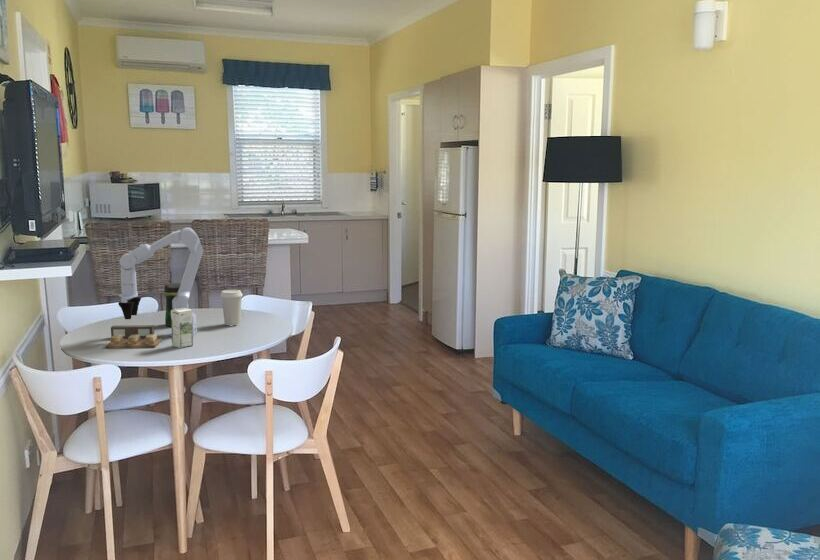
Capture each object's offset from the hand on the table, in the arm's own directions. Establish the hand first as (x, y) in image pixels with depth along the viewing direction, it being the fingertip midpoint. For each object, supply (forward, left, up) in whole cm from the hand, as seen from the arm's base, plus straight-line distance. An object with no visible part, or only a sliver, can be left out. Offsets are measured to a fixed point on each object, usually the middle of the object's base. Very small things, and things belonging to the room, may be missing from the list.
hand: (130, 317), depth 276 cm
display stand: (-4, +12, -8) cm, 16 cm away
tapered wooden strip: (0, 0, -9) cm, 9 cm away
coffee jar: (-12, -23, -9) cm, 27 cm away
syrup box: (-23, +15, -9) cm, 29 cm away
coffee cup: (-36, -22, -9) cm, 43 cm away
